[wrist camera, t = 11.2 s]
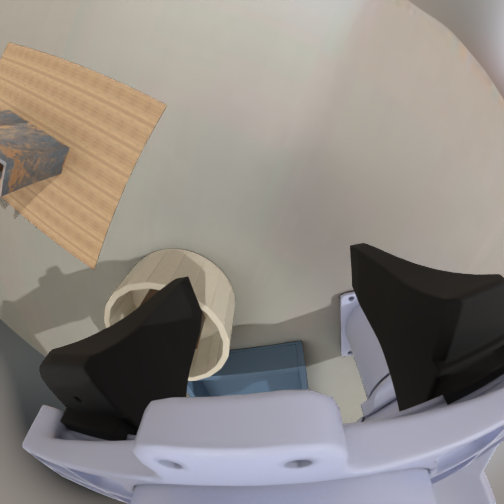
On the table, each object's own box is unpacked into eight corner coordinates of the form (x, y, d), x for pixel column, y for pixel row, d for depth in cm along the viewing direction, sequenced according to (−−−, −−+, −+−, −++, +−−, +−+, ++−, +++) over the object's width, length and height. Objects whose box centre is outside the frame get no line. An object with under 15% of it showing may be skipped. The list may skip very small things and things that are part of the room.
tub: (301, 340, 25) (305, 365, 22) (309, 404, 30) (311, 425, 27) (184, 353, 27) (177, 377, 24) (217, 412, 32) (214, 433, 29)
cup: (218, 237, 21) (205, 272, 16) (246, 334, 25) (243, 378, 20) (114, 259, 22) (84, 291, 17) (154, 342, 26) (138, 380, 21)
